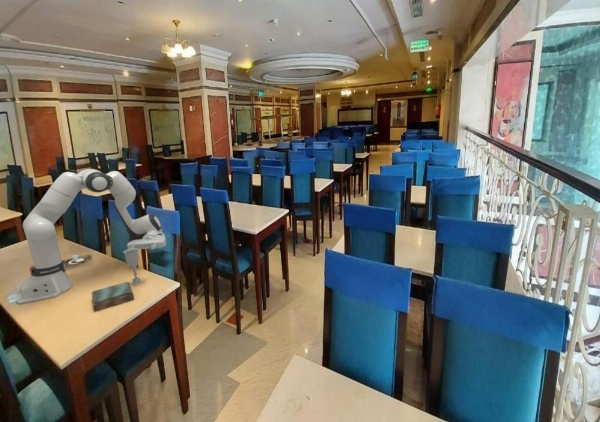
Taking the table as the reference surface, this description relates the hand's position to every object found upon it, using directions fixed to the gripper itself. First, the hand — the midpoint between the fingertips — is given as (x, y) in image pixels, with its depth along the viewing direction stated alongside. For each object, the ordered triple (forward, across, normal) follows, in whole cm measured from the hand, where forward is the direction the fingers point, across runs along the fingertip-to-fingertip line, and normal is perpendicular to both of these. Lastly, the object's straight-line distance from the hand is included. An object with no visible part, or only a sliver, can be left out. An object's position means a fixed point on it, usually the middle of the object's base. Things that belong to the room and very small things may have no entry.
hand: (142, 249), depth 175 cm
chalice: (+12, 0, +14) cm, 19 cm away
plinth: (+28, -5, +13) cm, 32 cm away
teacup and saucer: (-20, -50, +14) cm, 56 cm away
